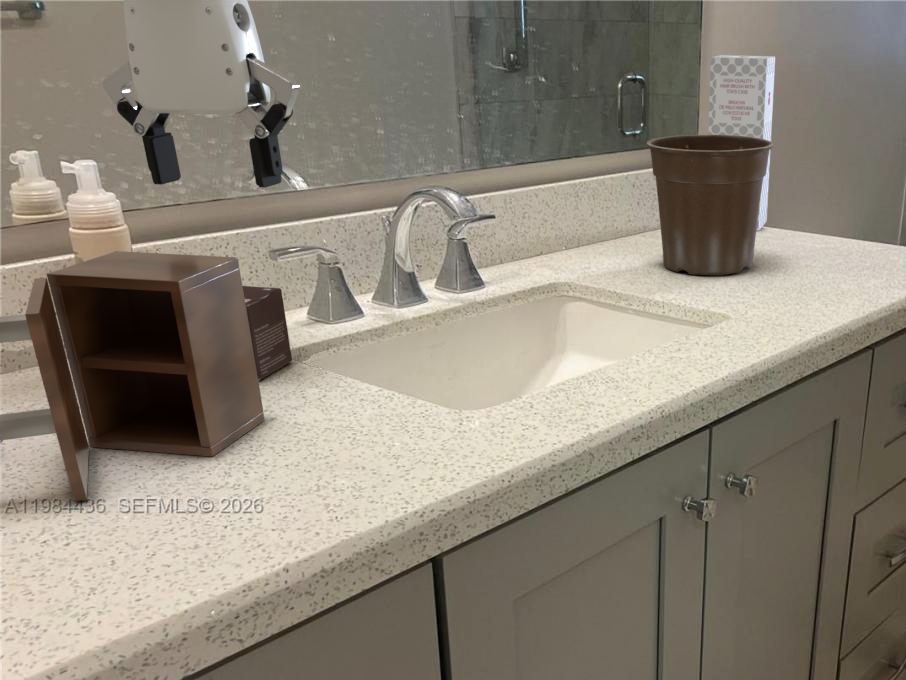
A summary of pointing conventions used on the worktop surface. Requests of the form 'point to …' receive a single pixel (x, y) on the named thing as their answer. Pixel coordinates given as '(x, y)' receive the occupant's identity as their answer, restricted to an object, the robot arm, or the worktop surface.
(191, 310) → the cabinet
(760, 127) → the box
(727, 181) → the plant pot
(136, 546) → the worktop surface
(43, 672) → the worktop surface
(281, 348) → the box
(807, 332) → the worktop surface
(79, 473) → the door
